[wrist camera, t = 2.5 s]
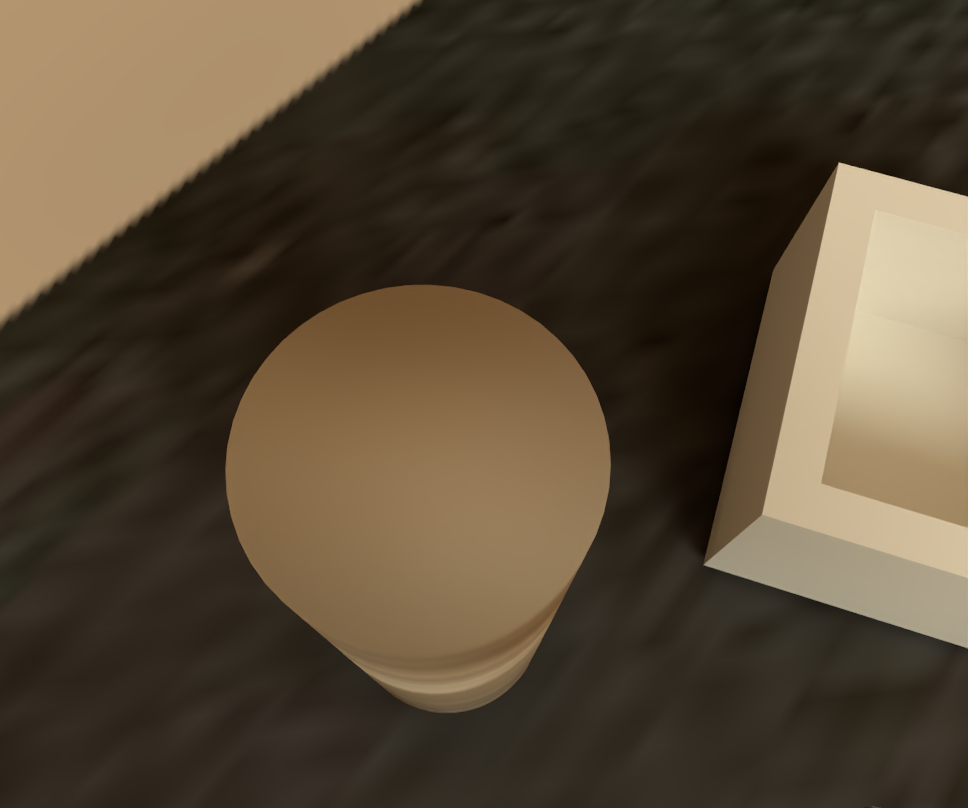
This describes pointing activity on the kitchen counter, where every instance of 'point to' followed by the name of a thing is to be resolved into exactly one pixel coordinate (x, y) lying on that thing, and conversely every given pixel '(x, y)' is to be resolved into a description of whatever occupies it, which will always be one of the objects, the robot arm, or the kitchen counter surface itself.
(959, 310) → the cream square tray
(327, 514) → the wick dowel
